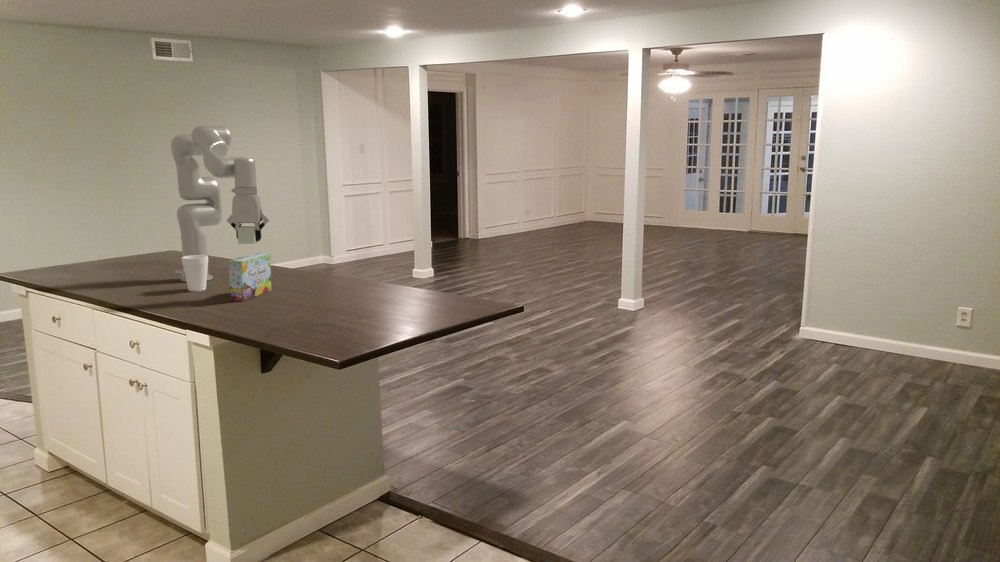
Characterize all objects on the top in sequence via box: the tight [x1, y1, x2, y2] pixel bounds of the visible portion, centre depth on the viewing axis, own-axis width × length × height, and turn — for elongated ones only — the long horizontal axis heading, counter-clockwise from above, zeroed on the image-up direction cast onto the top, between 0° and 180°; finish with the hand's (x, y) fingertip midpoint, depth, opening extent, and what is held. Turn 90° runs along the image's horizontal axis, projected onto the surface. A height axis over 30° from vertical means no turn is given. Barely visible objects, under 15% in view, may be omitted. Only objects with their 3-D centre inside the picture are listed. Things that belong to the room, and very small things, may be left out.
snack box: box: [228, 252, 272, 302], centre depth 279 cm, size 21×6×15 cm, turn 168°
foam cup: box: [181, 255, 209, 292], centre depth 289 cm, size 10×9×13 cm
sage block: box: [237, 225, 261, 245], centre depth 276 cm, size 6×6×6 cm
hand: (249, 240), depth 276 cm, fingers closed on sage block, 6 cm apart
